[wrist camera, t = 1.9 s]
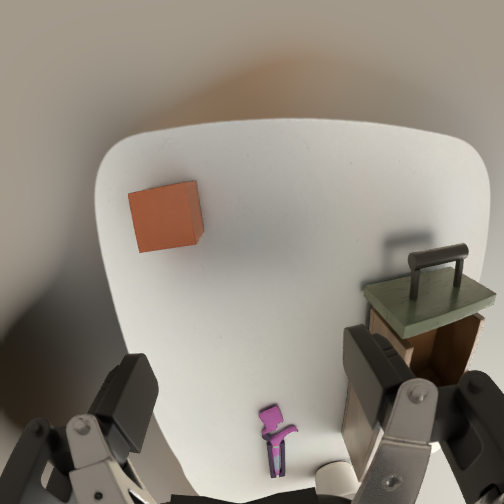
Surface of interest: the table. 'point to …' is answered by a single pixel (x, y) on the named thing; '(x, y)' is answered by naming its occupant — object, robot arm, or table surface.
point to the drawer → (432, 315)
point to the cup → (337, 480)
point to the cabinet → (362, 436)
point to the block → (166, 216)
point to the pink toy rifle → (275, 440)
